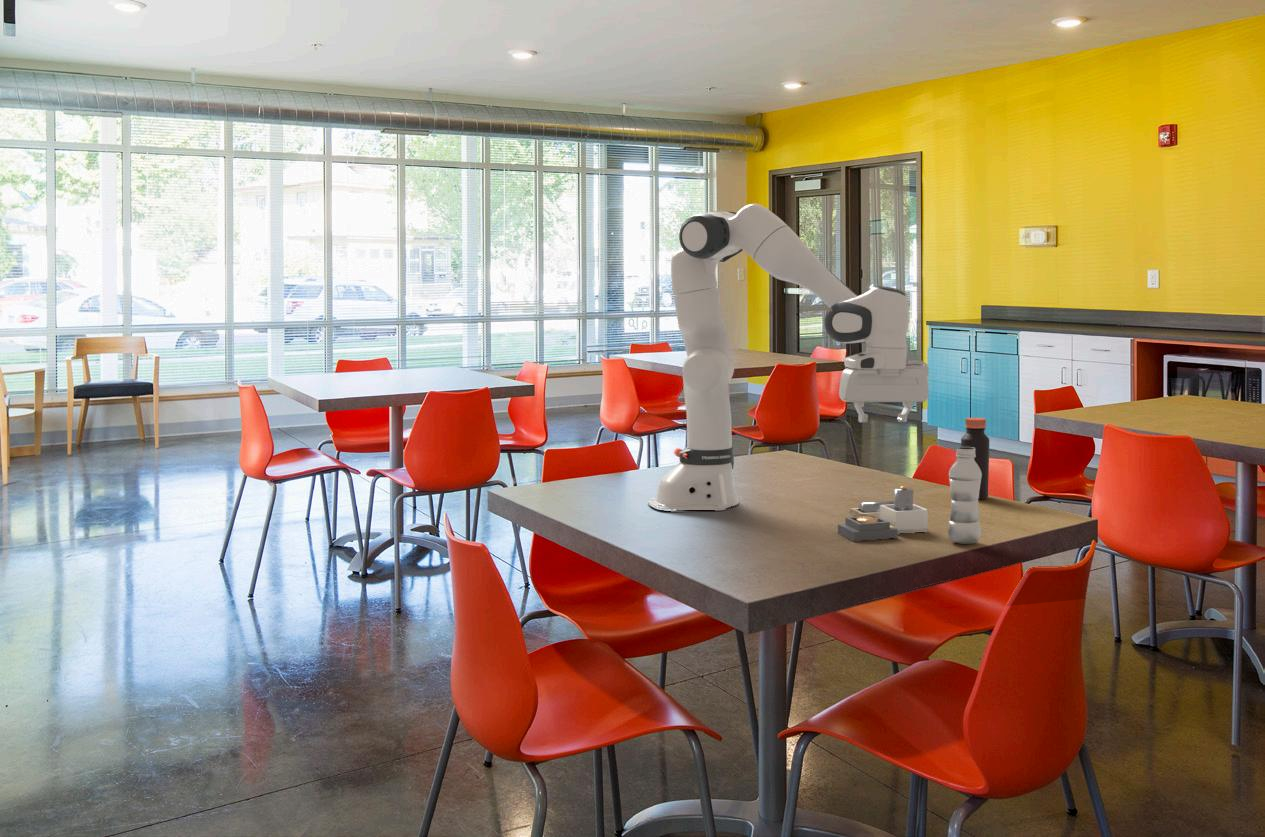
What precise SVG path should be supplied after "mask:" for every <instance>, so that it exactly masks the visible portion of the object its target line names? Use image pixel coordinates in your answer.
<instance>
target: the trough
mask: <svg viewBox="0 0 1265 837" xmlns="http://www.w3.org/2000/svg"><path fill="white" fill-rule="evenodd" d="M858 508H859V507H853V508H850V509H849V510H850V511H849V517H860V516H877V517H880V512H871V513H863V512H861V511H858Z"/></svg>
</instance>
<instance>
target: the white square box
mask: <svg viewBox="0 0 1265 837" xmlns="http://www.w3.org/2000/svg"><path fill="white" fill-rule="evenodd" d="M928 515H929V509H927V508H925V507H922V506H919V505H917V504H915V503H913V510H907V511H895V510H894V504H888V505H880V518H882V519H884V520H886V521H888V522H890V525H891V526H893V527H894V528H896V529H897V535H901V534H900V533H911V534H916V533H915V532H925V533H927V532H926V531H928V530H929V529H928V525H929V524H928V522H929V516H928Z"/></svg>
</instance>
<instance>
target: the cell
mask: <svg viewBox="0 0 1265 837" xmlns="http://www.w3.org/2000/svg"><path fill="white" fill-rule="evenodd" d="M893 491H894V492H893V494H894V495H893V496H894V497H893V498H894V499H893V501H894V510H895V511H907V510H913V504H914V489H913V488H911V487H910V488H909V487H908V486H907V485H901V486H900V487H896V488H894V490H893Z"/></svg>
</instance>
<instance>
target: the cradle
mask: <svg viewBox="0 0 1265 837" xmlns="http://www.w3.org/2000/svg"><path fill="white" fill-rule="evenodd" d="M860 517H875V518H878V522H874V523H859V522H857V521H856V519H857V518H858V517H850V516H848V517H847V516H846V517H845V521H844V522H845V523H838V524H837V534H838V533H839V534H838V535H840V534H841V535H840V536H842V535H843V537H844V536H845V537H844V538H846V539H848V540H850V539H851V540H850V541H852V542H854V541H855V542H863V541H862V540H868V541H878V540H877V539H882V540H890V539H889V538H895V539H898V534H897V529H896V528H894V527H893V526H891V525H890V522H888V521H886V520H884V519H882V518H880V517H877V516H860Z"/></svg>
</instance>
